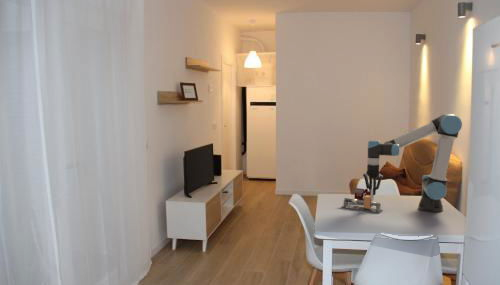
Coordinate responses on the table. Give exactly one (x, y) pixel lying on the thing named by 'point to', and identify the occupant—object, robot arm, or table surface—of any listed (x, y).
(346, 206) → the rail
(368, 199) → the collar
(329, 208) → the table surface
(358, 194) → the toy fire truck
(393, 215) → the table surface
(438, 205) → the robot arm
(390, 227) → the table surface
